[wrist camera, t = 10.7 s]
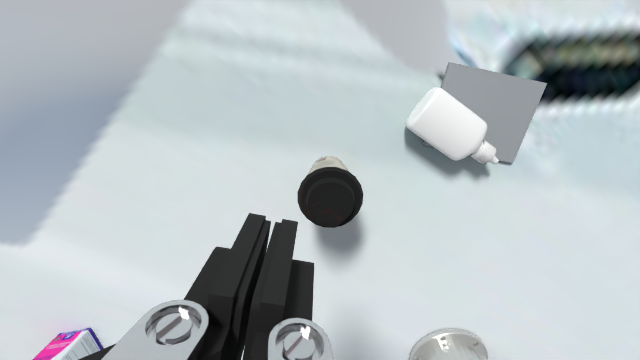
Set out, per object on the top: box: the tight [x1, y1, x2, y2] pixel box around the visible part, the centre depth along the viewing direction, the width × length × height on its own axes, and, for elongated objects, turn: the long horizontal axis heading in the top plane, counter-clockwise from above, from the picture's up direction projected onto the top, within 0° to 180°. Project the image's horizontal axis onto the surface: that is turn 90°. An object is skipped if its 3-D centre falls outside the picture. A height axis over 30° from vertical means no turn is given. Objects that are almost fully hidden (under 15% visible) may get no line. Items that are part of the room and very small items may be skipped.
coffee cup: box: [298, 156, 363, 228], centre depth 35 cm, size 7×7×10 cm
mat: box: [422, 62, 547, 163], centre depth 37 cm, size 12×10×1 cm
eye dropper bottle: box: [405, 87, 499, 164], centre depth 36 cm, size 4×6×12 cm
